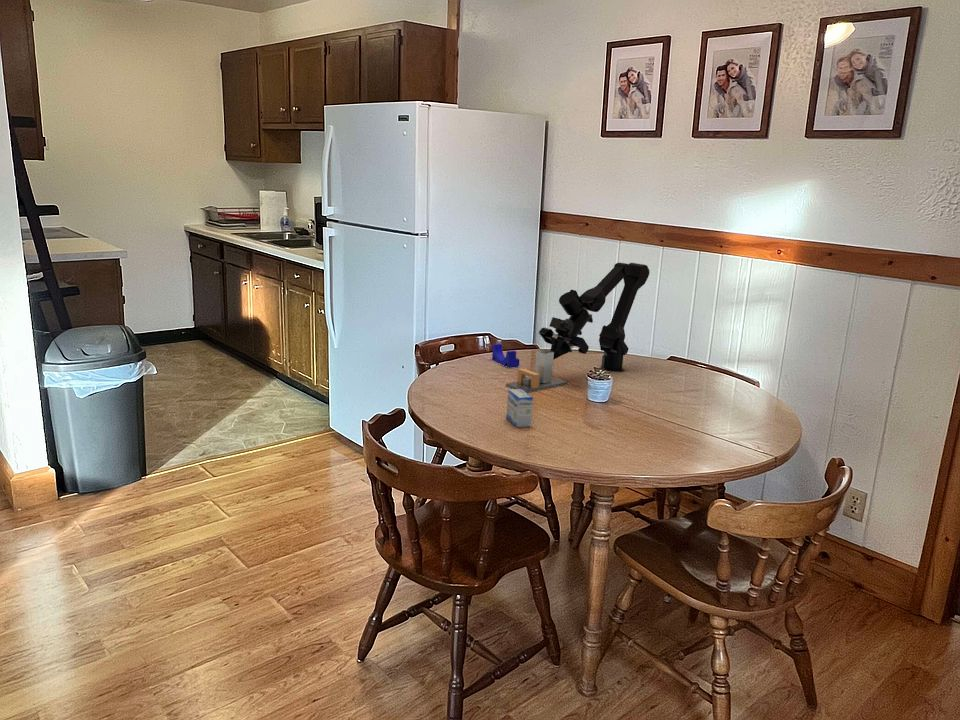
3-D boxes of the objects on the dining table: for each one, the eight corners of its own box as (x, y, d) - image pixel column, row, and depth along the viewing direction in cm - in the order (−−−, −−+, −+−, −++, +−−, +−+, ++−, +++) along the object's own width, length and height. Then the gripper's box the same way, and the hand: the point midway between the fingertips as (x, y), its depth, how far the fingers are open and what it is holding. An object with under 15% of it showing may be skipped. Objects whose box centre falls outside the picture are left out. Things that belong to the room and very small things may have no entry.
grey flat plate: (547, 377, 254) (547, 375, 254) (566, 384, 248) (567, 381, 248) (505, 386, 242) (505, 383, 242) (525, 393, 236) (525, 391, 236)
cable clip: (519, 367, 266) (519, 351, 264) (508, 368, 264) (508, 352, 262) (502, 359, 276) (503, 343, 275) (492, 360, 274) (492, 344, 273)
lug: (521, 381, 246) (522, 368, 245) (538, 387, 240) (539, 374, 239) (517, 382, 245) (518, 369, 244) (534, 388, 239) (535, 375, 238)
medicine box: (505, 418, 212) (507, 389, 210) (520, 417, 214) (522, 388, 211) (516, 427, 205) (518, 397, 203) (531, 426, 207) (533, 396, 204)
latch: (543, 378, 249) (545, 349, 247) (551, 381, 246) (553, 352, 244) (521, 383, 243) (523, 353, 241) (529, 386, 240) (531, 356, 238)
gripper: (544, 303, 252) (518, 339, 248) (585, 313, 239) (559, 351, 234) (559, 324, 259) (534, 359, 255) (600, 335, 246) (574, 372, 241)
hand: (549, 360), depth 246 cm, fingers closed, pressing on latch
